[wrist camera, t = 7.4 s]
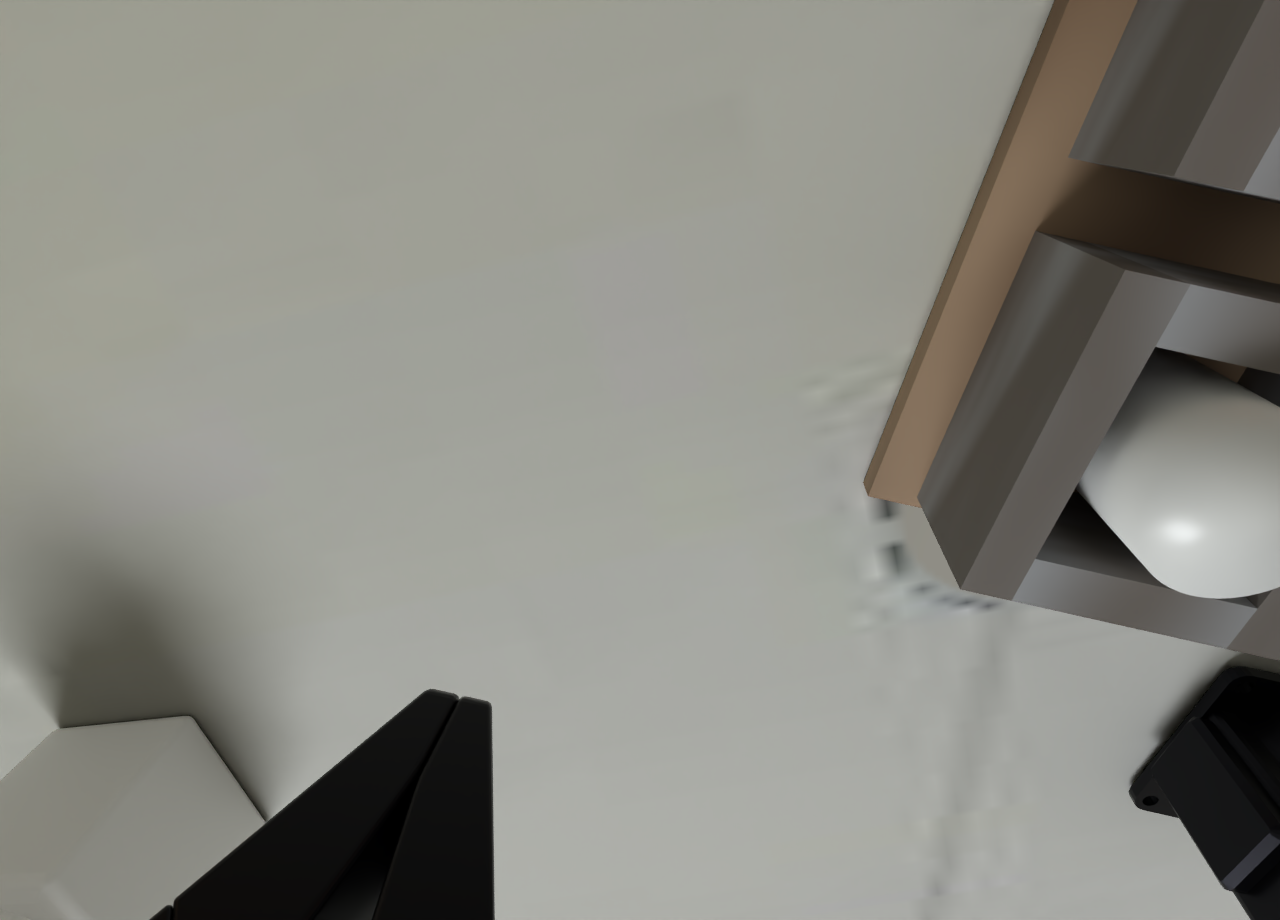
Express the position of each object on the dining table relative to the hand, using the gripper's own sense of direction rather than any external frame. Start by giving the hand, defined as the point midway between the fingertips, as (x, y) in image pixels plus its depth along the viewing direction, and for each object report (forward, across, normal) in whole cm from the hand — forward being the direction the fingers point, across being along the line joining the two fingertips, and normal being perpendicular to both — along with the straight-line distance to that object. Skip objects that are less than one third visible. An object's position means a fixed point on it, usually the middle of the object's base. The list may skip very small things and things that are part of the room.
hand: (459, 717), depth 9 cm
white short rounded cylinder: (+11, -13, -2) cm, 17 cm away
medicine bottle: (+13, +16, +23) cm, 31 cm away
